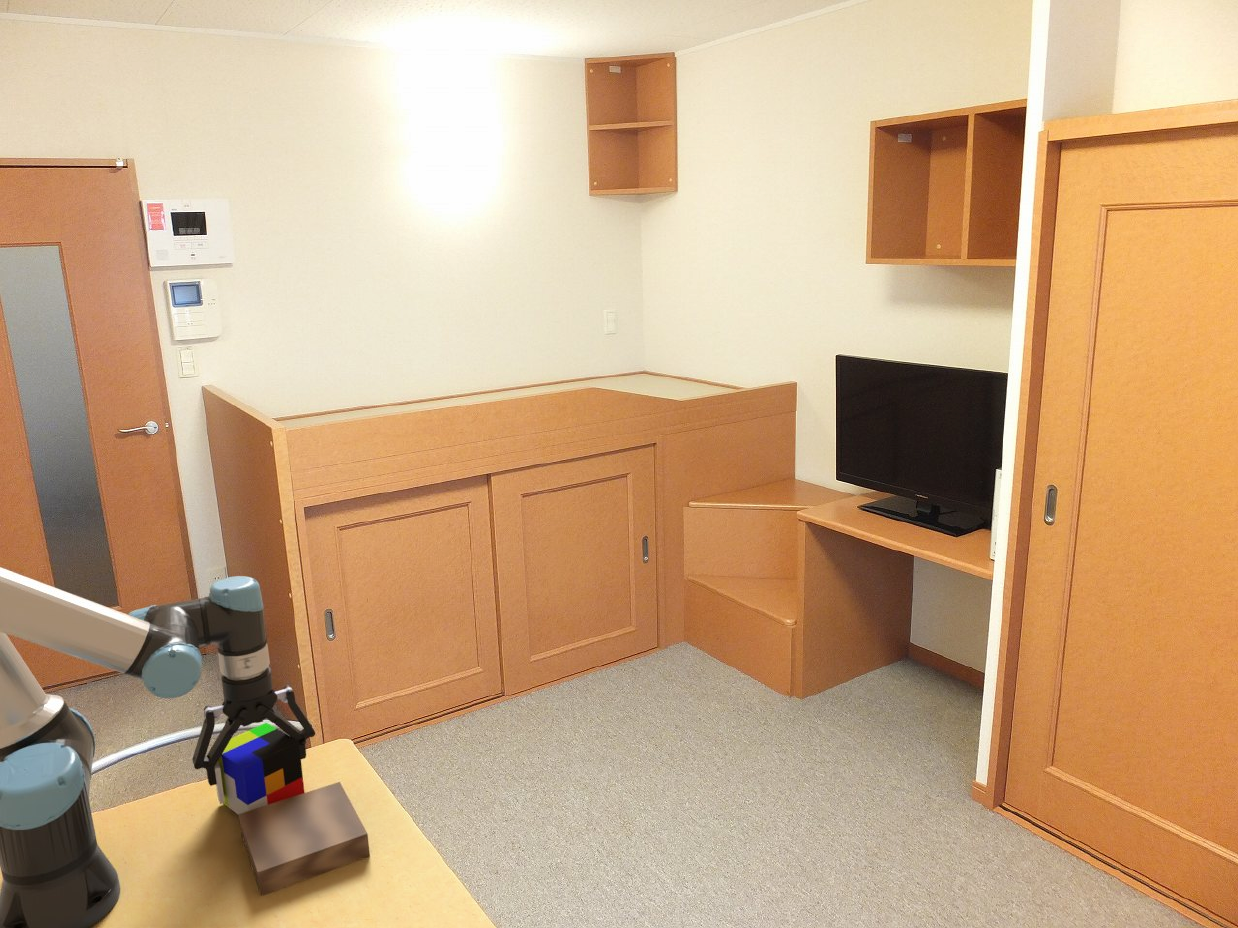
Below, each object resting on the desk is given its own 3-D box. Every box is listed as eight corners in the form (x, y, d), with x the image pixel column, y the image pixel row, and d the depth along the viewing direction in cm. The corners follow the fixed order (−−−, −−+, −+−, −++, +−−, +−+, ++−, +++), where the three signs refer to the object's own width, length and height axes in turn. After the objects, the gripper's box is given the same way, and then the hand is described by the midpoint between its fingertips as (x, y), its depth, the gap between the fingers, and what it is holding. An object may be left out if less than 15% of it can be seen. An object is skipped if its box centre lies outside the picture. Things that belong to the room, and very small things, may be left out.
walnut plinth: (261, 895, 134) (257, 872, 133) (241, 835, 148) (238, 814, 147) (369, 855, 142) (367, 833, 141) (342, 802, 156) (339, 781, 155)
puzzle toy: (250, 823, 150) (243, 768, 147) (218, 800, 156) (211, 747, 153) (304, 793, 157) (298, 741, 155) (272, 773, 163) (266, 722, 161)
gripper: (167, 699, 142) (185, 822, 147) (326, 660, 153) (338, 776, 159) (162, 679, 148) (180, 798, 153) (315, 644, 160) (327, 755, 165)
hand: (260, 787), depth 156 cm, fingers closed on puzzle toy, 12 cm apart
